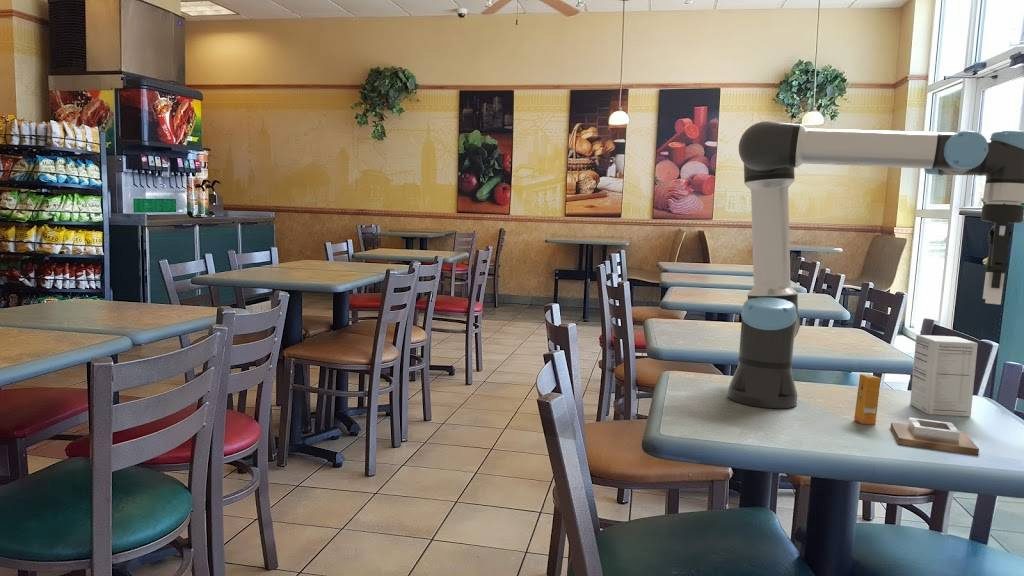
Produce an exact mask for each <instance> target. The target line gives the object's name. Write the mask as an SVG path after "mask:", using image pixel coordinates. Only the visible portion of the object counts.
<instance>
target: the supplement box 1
mask: <svg viewBox="0 0 1024 576" xmlns="http://www.w3.org/2000/svg"><path fill="white" fill-rule="evenodd" d="M880 385H881V377H878V376H876V375H872V374H865V373H864V374H863V373H860V374H859V379H858V388H857V394H856V395H857V396H856V401H855V402H856V403H855V409H854V417H853V419H854V421H856V422H859V423H860V424H863V425H876V421H877V413H878V404H879V395H880V387H881V386H880Z"/></svg>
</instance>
